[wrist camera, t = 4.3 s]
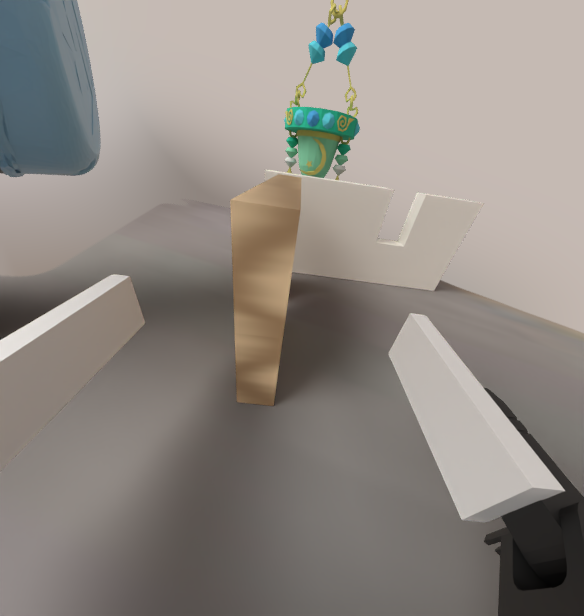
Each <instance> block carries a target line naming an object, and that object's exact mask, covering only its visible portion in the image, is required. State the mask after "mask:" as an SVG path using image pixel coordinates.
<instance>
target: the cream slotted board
mask: <svg viewBox="0 0 584 616" xmlns="http://www.w3.org/2000/svg"><path fill="white" fill-rule="evenodd" d="M278 174H281V175H288V176H294V177H301V178H302V180H301V210H300V218H299V225H298V232H297V239H296V247H295V254H294V261H293V268H292V272H294V273H302V274H309V275H317V276H324V277H332V278H339V279H347V280H354V281H362V282H369V283H377V284H384V285H392V286H399V287H407V288H414V289H422V290H429V291H434V290H435V288H436V286H437V285H438V283H439V281H440V279H441V278H442V276H443V274H444V273H445V271H446V269H447V267H448V266H449V264H450V262H451V260H452V259H453V257H454V255H455V253H456V252H457V250H458V248H459V247H460V245H461V243H462V241H463V240H464V238H465V236H466V234H467V233H468V231H469V229H470V227H471V226H472V224H473V222H474V220H475V219H476V217H477V215H478V214H479V212H480V210H481V208H482V206H483V205H484V204H483V203H480V202H475V201H471V200H464V199H458V198H451V197H444V196H438V195H431V194H425V193H418V192H417V194H416V196H415V199H414V201H413V204H412V206H411V209H410V211H409V214H408V216H407V218H406V221H405V223H404V226H403V228H402V231H401V233H400V236H399V238H398V241H393V240H385V239H379V238H378V236H379V233H380V230H381V227H382V224H383V221H384V218H385V216H386V213H387V210H388V207H389V204H390V201H391V199H392V196H393V193H394V190H392V189H389V188H385V187H378V186H371V185H365V184H358V183H352V182H345V181H339V180H332V179H325V178H319V177H312V176H306V175H299V174H292V173H286V172H279V171H272V170H265V180H264V182H265V181H267V180H268V179H270V178H272V177H274V176H276V175H278Z"/></svg>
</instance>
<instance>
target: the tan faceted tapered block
mask: <svg viewBox="0 0 584 616" xmlns="http://www.w3.org/2000/svg"><path fill="white" fill-rule="evenodd" d="M301 180H302V178H301V177H294V176H288V175H281V174H278V175H276V176H274V177H272V178H270V179H268V180H267V181H265V182H263V183H261V184H259V185H257V186H255V187H253V188H252V189H250V190H248V191H246V192H244V193H242V194H240V195H239V196H237V197H235V198H233V199H231V234H232V265H233V296H234V327H235V359H236V390H237V402H240V403H249V404H259V405H268V406H274V399H275V392H276V384H277V377H278V370H279V363H280V355H281V348H282V341H283V334H284V326H285V319H286V312H287V305H288V297H289V290H290V283H291V276H292V268H293V261H294V254H295V247H296V239H297V232H298V225H299V218H300V210H301Z"/></svg>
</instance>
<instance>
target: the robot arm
mask: <svg viewBox="0 0 584 616" xmlns="http://www.w3.org/2000/svg"><path fill="white" fill-rule="evenodd" d="M99 154H100V126H99V117H98V110H97V102H96V95H95V89H94V83H93V77H92V71H91V65H90V60H89V54H88V49H87V45H86V39H85V34H84V30H83V25H82V21H81V16H80V12H79V7H78V3H77V0H0V173H4V174H6V175H9V176H10V177H20V176H23V175H24V174H47V175H70V176H75V175H82V174H85V173H87V172H89V171H90V170H92V169H93V168H94V166H95V165H96V164H97V161H98V159H99ZM144 324H145V321H144V318H143V315H142V312H141V308H140V305H139V302H138V299H137V296H136V293H135V290H134V287H133V284H132V281H131V278H130V276H124V275H116V274H112V275H110V276H108V277H107V278H105V279H103V280H102V281H100V282H98V283H97V284H95V285H93V286H91V287H90V288H88V289H86V290H85V291H83V292H81V293H80V294H78V295H76V296H74V297H73V298H71V299H69V300H68V301H66V302H64V303H63V304H61V305H59V306H57V307H56V308H54V309H52V310H51V311H49V312H47V313H46V314H44V315H42V316H41V317H39V318H37V319H35V320H34V321H32V322H30V323H29V324H27V325H25V326H24V327H22V328H20V329H18V330H17V331H15V332H13V333H12V334H10V335H8V336H5V337H3V338H0V472H1V471H2V470H3V468H4V467H5V466H6V465H7V464H8V463H9V462H10V461H11V460H12V459H13V458H14V457H15V456H16V455H17V454H18V453H19V452H20V451H21V450H22V449H23V448H24V447H25V446H26V445H27V444H28V443H29V442H30V441H31V440H32V439H33V438H34V437H35V436H36V435H37V434H38V433H39V432H40V431H41V430H42V429H43V428H44V427H45V426H46V425H47V423H48V422H49V421H50V420H51V419H52V418H53V417H54V416H55V415H56V414H57V413H58V412H59V411H60V410H61V409H62V408H63V407H64V406H65V405H66V404H67V403H68V402H69V401H70V400H71V399H72V398H73V397H74V396H75V395H76V394H77V393H78V392H79V391H80V390H81V389H82V388H83V387H84V386H85V385H86V384H87V383H88V382H89V381H90V380H91V378H92V377H93V376H94V375H95V374H96V373H97V372H98V371H99V370H100V369H101V368H102V367H103V366H104V365H105V364H106V363H107V362H108V361H109V360H110V359H111V358H112V357H113V356H114V355H115V354H116V353H117V352H118V351H119V350H120V349H121V348H122V347H123V346H124V345H125V344H126V343H127V342H128V341H129V340H130V339H131V338H132V337H133V336H134V334H135V333H136V332H137V331H138V330H139V329H140V328H141V327H142V326H143V325H144ZM388 354H389V356H390V359H391V361H392V363H393V366H394V368H395V370H396V372H397V375H398V377H399V379H400V381H401V384H402V386H403V388H404V390H405V393H406V395H407V397H408V400H409V402H410V404H411V406H412V409H413V411H414V413H415V415H416V418H417V420H418V422H419V424H420V427H421V429H422V431H423V433H424V436H425V438H426V440H427V443H428V445H429V447H430V449H431V452H432V454H433V456H434V458H435V461H436V463H437V465H438V467H439V470H440V472H441V474H442V477H443V479H444V481H445V483H446V486H447V488H448V490H449V492H450V495H451V497H452V499H453V501H454V504H455V506H456V508H457V510H458V513H459V515H460V517H461V520H466V521H476V522H489V521H492V520H494V519H497V518H499V517H502V519H503V521H504V522H505V524H506V526H507V528H504V529H501V530H498V531H495V532H492V533H490V534H488V535H486V538H485V540H484V542H485V543H486V544H487V545H491V544H495V543H498V542H501V546H500V547H498V548H497V549H495V551H496V552H497V553H498V554H499V555H500V580H499V606H498V616H584V497H583V496H582V495H581V494H580V493H579V491H578V490H577V489H576V488H575V487H574V486H573V485H572V483H571V482H570V481H569V480H568V479H567V477H566V476H565V475H564V474H563V473H562V471H561V470H560V469H559V468H558V467H557V465H556V464H555V463H554V462H553V461H552V459H551V458H550V457H549V456H548V455H547V453H546V452H545V451H544V450H543V449H542V447H541V446H540V445H539V444H538V443H537V441H536V440H535V439H534V438H533V437H532V435H531V434H528V433H527V429H526V428H525V427H524V426H523V425H522V423H521V422H520V421H517V419H516V418H517V417H516V416H515V415H514V414H513V413H512V411H511V410H510V409H509V408H508V407H507V405H506V404H505V403H504V402H503V401H502V400H501V399H499V398H498V397H497V396H496V395H495V394H494V393H492V392H491V391H490V390H489V389H487V388H483V387H482V385H481V384H480V383H479V382H478V380H477V379H476V378H475V377H474V375H473V374H472V373H471V372H470V370H469V369H468V368H467V367H466V365H465V364H464V363H463V362H462V360H461V359H460V358H459V357H458V355H457V354H456V353H455V351H454V350H453V349H452V348H451V346H450V345H449V344H448V343H447V341H446V340H445V339H444V338H443V336H442V335H441V334H440V333H439V331H438V330H437V329H436V328H435V326H434V325H433V324H432V323H431V321H430V320H429V319H428V318H427V316H426V315H420V314H413V313H410V314H409V316H408V318H407V320H406V322H405V323H404V325H403V327H402V329H401V331H400V333H399V334H398V336H397V338H396V340H395V342H394V344H393V346H392V347H391V349H390V351H389V353H388Z"/></svg>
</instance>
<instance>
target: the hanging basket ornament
mask: <svg viewBox="0 0 584 616" xmlns="http://www.w3.org/2000/svg"><path fill="white" fill-rule="evenodd" d="M333 3H334V0H331V9H330V11H329V18H328V27H327V26H326V25H325V24H324V23H320V24H319V25H318V26H317V27H316V39H317V42H316V41H312V42H311V43H310V44H309V52H310V58H311V65H310V67H309V69H308V72H309V70H310V68H311V66H312V64H314V63H318V62H322V61H324V57H325V51H324V49H323V48H326V47H328V46H330V45H332V41H333V34H332V32H331V30H330V29H329V26H330V25H331V24H333V23H334V22H335V21H336V18H340V24H341V27H339V28H338V30H337V31H336V34H335V39H334V44H336V45H337V46H338V47H339V48H340V49H339V52H338V56H337V59H336V60H337V61H339V62H341V63H343V64H345V65H347V68H348V75H349V82H350V88H349V89H348V91H347V92H346V94H345V98H346V102H348V101H349V100H351V101H350V107H348V109H347V114H344V113H341V112H337V111H332V110H327V109H321V108H311V107H300V104H299V99H300V96H301V97H302V98H303V97H304V95H305V93H306V89H305V86H304V81H305V79H306V77H307V75H308V72H307V74H306V76H305V78H304V81H303V82H302V83H301V84H300V85H298V86H296V95H295V102H294V101H290V108H288V109H287V111H286V112H285V113H286V118H285V119H284V121H285V129H286V130H288V131H289V135H290V136H291V137H288V139H287V142H288V144H289V145H290V147H291V148H289V147H288V148H287V149H286V152H287V154H288V155H289V157H290V158H288V157H287V158H286V159H285V162H286V163H287V165H288V166H289V170H288V172H286V173H291V167H292V166H293V165H294V164H295V163H296V160H295V159H294V158H292V157H293V156H295V155H296V154H297V153H298V152H299V167H300V171H301V174H302V175H306V176H312V177H319V178H324V177H325V175H326V174H327V172H328V170H329V169H330V166H331V164H332V160H333V158H334V155H335V152H336V150H337V149H338V150H339V152H340V153H341V155H337V156H336V157H335V159H336V161H337V163H338V164H339V165H335V166H334V167H333V169H334V171H335V172H336V174H337V175H338V176H339V175H340V174H341V173H343V172H344V171H345V170H346V169H345V166H341V165H342V164H344V163H345V162H346V161H348V159H347V156H344V154H346V153H347V152H348V151H349V150H350V146H349V145H347V144H348V143H349V141H350V140H352V139H354V136H355V135H356V134H357V133H358V132H359V129H360V127H359V125H358V121H357V119H356V118H354V117H355V116H356V115H357V114H358V109H357V107H355V108H354V109H352V106H353V101H354V100H355V98H356V91H355V90H354V89H353V88H352V87H351V81H350V74H349V64H350V61H351V60H352V58H353V56H354V54H355V52H356V49H357V47H356V46H355V45H354V44H353V43H352V42H351V39H352V36H353V33H354V30H355V29H354V28H353V27H352V26H351V24H349V23H347V24H343V13H344V12H345V11H346V8H347V4H348V0H346V3H345V7H344V8H343V9H342V7H341V5H339V11H337V10H336V4H333ZM331 14H333V16H334V19H333V20H331ZM302 85H303V88H304V93H303V95H301V94H300V90H298V88H299V87H300V86H302ZM351 89H352V91H353V92H354V99H353V95H352V96H351V98H350V99H349V100H347V94H348V92H349V91H350V90H351ZM297 97H298V98H297ZM292 102H293V103H294V104H295V105H298V107H291V105H292ZM355 109H356V114H355V115H354V116H351V115H349V113H348V112H349V110H350V111H351V110H355ZM291 132H295V133H296V135H295V136H294V135H291ZM297 136H298V139H297V138H296V137H297ZM343 140H348V141H347V142H343ZM340 141H341V143H342V144H339V142H340ZM297 144H298V152H297V149H295V148H294V147H295V146H296V145H297ZM338 144H339V146H338ZM292 174H293V173H292ZM338 176H337V178H336V179H335V180H339V178H338Z"/></svg>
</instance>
